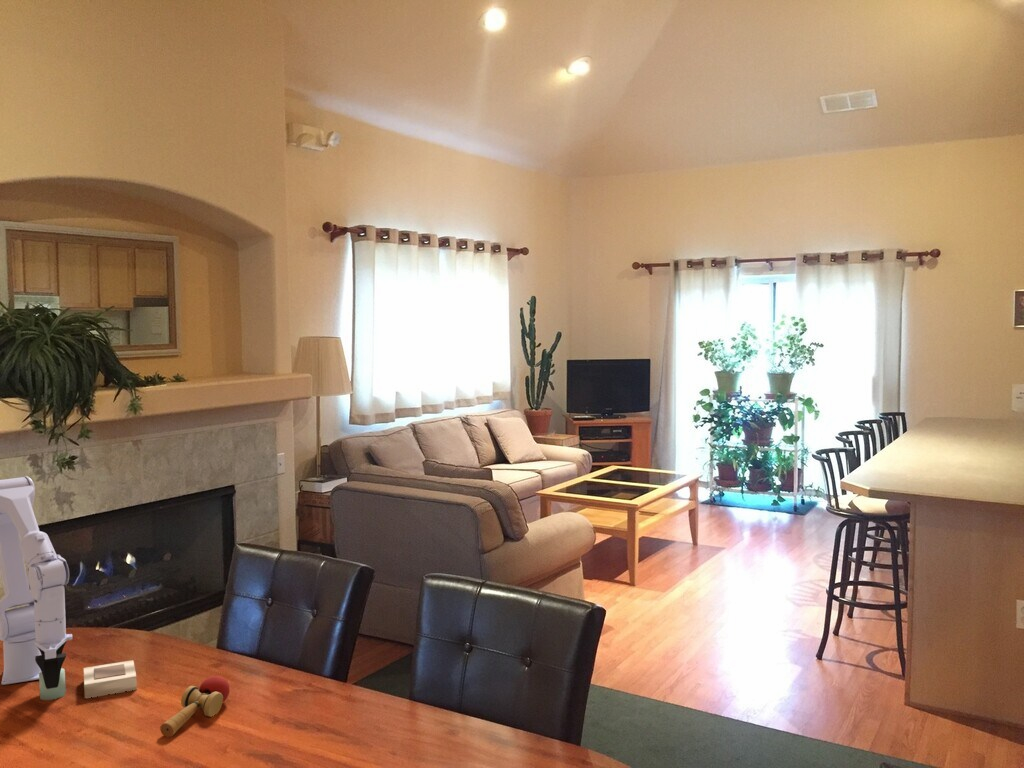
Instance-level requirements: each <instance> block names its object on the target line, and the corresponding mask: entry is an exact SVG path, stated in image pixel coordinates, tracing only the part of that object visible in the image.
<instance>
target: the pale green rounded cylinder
mask: <svg viewBox="0 0 1024 768" xmlns="http://www.w3.org/2000/svg"><path fill="white" fill-rule="evenodd" d="M38 681H39V698H40V700H42V701H53V699H54V700H58V699H60V698H63V697H64V696H65V695H66V694H65V693H66V670H65V668H62V667H61V672H60V679H59V684H58V687H57V688H50V689H46V686H45V683H44V679H43V675H42V672H40V673H39V679H38ZM57 698H58V699H57Z"/></svg>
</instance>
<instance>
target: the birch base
mask: <svg viewBox="0 0 1024 768" xmlns="http://www.w3.org/2000/svg"><path fill="white" fill-rule="evenodd" d="M137 680H138V679H137V673H136V666H135V661H134V659H132V660H131V659H130V660H125V661H119V662H112V663H105V664H98V665H94V666H87V667H83V688H84V689H83V690H84V699H85V698H86V699H92V698H97V696H98V697H103V696H109V695H108V694H110V695H114V694H115V693H116V694H122V693H126V692H125V691H127V692H131V691H132V690H133V691H136V690H138V687H137V686H138V684H137V683H138V681H137ZM91 697H92V698H91Z"/></svg>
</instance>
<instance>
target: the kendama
mask: <svg viewBox="0 0 1024 768" xmlns="http://www.w3.org/2000/svg"><path fill="white" fill-rule="evenodd" d="M229 694H230V684H229V682H228V681H227V679H226V678H224V677H223V676H220V675H211V676H209V677H207V678H205V679H204V680H203V681H202V682H201V684H200V686H199V688H198V687H197V686H195V685H189V686H188V687H187V688H186V689H185V690H184V692H183V693H182V695H181V699H180V701H181V702H180V703H181V704H180V705H181V707H182V708H183V709H181V710H180V711H179V712H176V713H175V714H174V715H173V716H172V717H170V718H169V719H167V720H166V721H165V722H163V723H162V724H161V725H160V727H159V730H160V733H161V734H162V735H163V736H164V737H165V736H167V737H166V738H172V737H173V736H174V735H175V734H176V733H177V732H178V731H179V730H180V728H182V726H184V724H185V723H186V722H187V721H189V719H190V718H191V717H192V716H193V715H194V714H195V712H197V710H198V709H199V708H201V709H202V710H203V714H204V715H205V716H206V717H209V718H212V716H213V717H215V716H216V715H217V714H218V713H219V712H220V710H221V708H222V706H223V703H224V702H225V701H226V700H227V699H228V696H229ZM215 714H216V715H215ZM214 715H215V716H214Z"/></svg>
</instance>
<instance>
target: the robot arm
mask: <svg viewBox="0 0 1024 768" xmlns="http://www.w3.org/2000/svg"><path fill="white" fill-rule="evenodd" d="M35 488H36V487H35V482H34V481H33V480H32V478H30V476H28V475H24V476H23V477H22V476H21V477H14V478H6V479H0V575H1V581H2V586H3V587H2V588H3V593H4V595H3V596H2V598H0V641H2V643H3V644H2V647H3V673H2V678H1V685H2V686H4V685H5V686H6V685H10V684H17V683H23V682H29V681H36V680H37V681H38V680H39V673H40V672H42V675H43V679H44V683H45V686H46V689H50V688H57V687H58V684H59V679H60V672H61V668H62V667H63V664H64V661H65V660H66V657H67V653H66V652H64V651H63V650H64V647H65V646H66V643H67V641H72V640H73V634H72V633H67V628H66V627H67V625H66V624H67V623H66V622H67V621H66V620H67V619H66V595H65V594H66V593H65V586H67V584H69V580H70V568H69V565H68V563H67V560H66V559H65V558H64V557H62V556H61V554H57V553H56V551H55V549H54V546H53V543H52V541H51V540H50V537H49V535H48V534H47V533H46V532H44V531H40V528H39V525H38V521H37V519H36V515H35V512H34V509H33V505H34V501H35V497H36V489H35ZM25 563H26V565H25ZM26 566H27V568H28V572H27V569H26ZM20 606H21V607H20ZM63 652H64V653H63Z"/></svg>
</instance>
